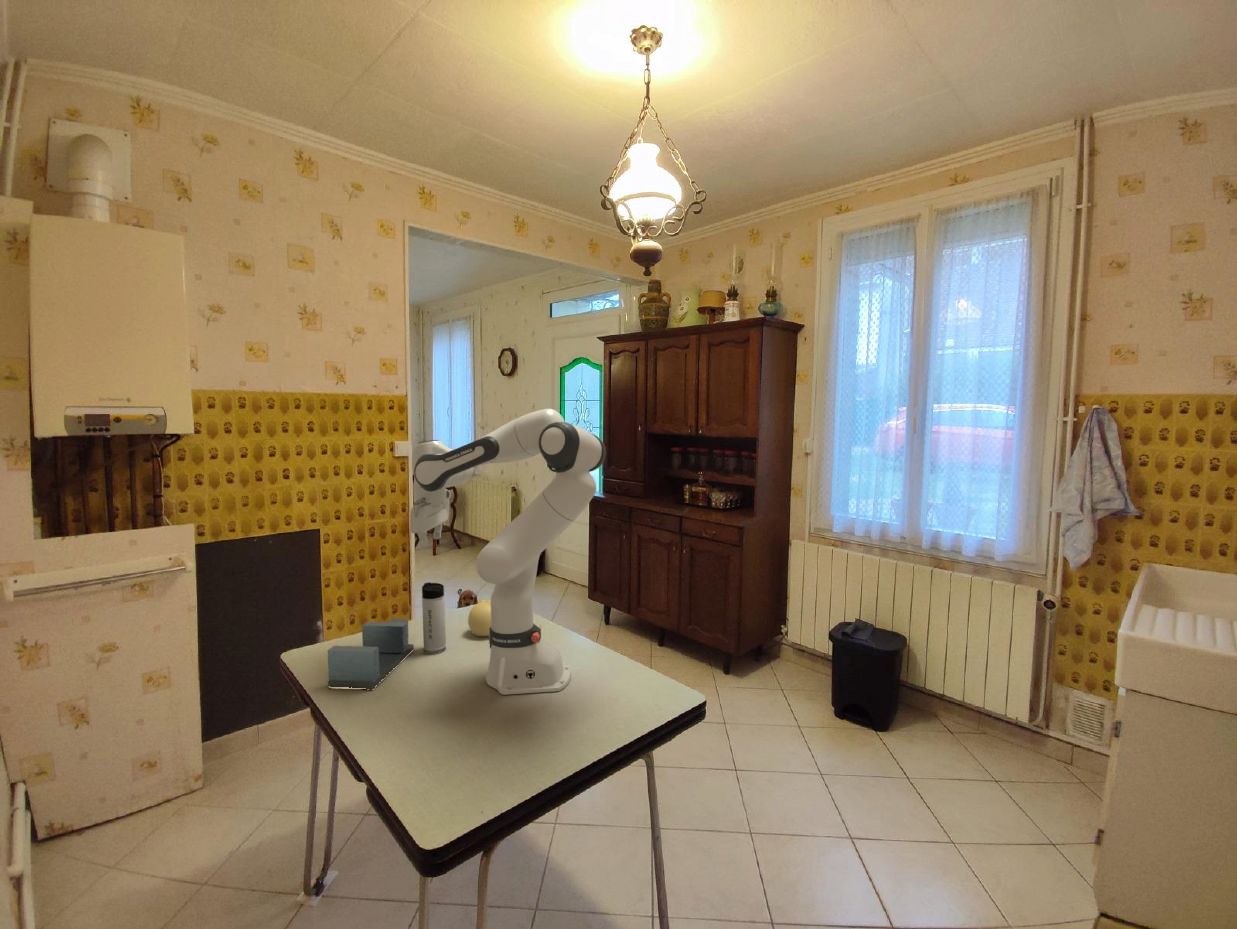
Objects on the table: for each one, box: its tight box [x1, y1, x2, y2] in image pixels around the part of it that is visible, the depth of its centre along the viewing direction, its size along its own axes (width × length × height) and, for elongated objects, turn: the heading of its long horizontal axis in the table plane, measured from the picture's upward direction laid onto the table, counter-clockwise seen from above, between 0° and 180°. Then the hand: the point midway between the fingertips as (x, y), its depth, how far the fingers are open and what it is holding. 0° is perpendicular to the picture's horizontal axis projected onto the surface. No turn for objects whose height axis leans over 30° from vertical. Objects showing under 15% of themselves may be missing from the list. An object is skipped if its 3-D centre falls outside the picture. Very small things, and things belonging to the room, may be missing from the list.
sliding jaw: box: [361, 618, 410, 653], centre depth 165 cm, size 11×12×8 cm
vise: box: [326, 643, 415, 690], centre depth 154 cm, size 24×12×10 cm, turn 176°
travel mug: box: [421, 581, 447, 655], centre depth 166 cm, size 6×7×20 cm
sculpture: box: [467, 598, 491, 637], centre depth 180 cm, size 11×12×11 cm
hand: (430, 542), depth 164 cm, fingers open, 8 cm apart
